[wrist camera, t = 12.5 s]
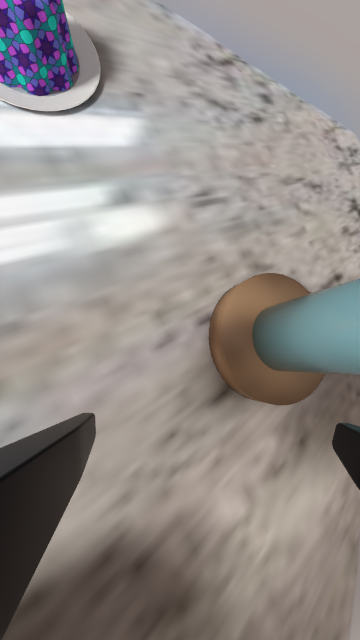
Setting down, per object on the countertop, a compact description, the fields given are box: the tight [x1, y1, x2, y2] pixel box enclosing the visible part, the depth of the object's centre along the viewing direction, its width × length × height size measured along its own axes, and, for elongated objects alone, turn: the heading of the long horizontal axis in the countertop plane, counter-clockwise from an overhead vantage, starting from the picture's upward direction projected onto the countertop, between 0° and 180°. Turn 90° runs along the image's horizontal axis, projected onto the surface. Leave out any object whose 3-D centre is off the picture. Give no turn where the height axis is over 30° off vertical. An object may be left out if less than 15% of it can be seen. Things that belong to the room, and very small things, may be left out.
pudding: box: [0, 0, 100, 111], centre depth 19 cm, size 12×12×5 cm
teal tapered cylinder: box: [252, 279, 360, 375], centre depth 17 cm, size 6×6×13 cm
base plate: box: [209, 273, 325, 405], centre depth 24 cm, size 12×12×2 cm
